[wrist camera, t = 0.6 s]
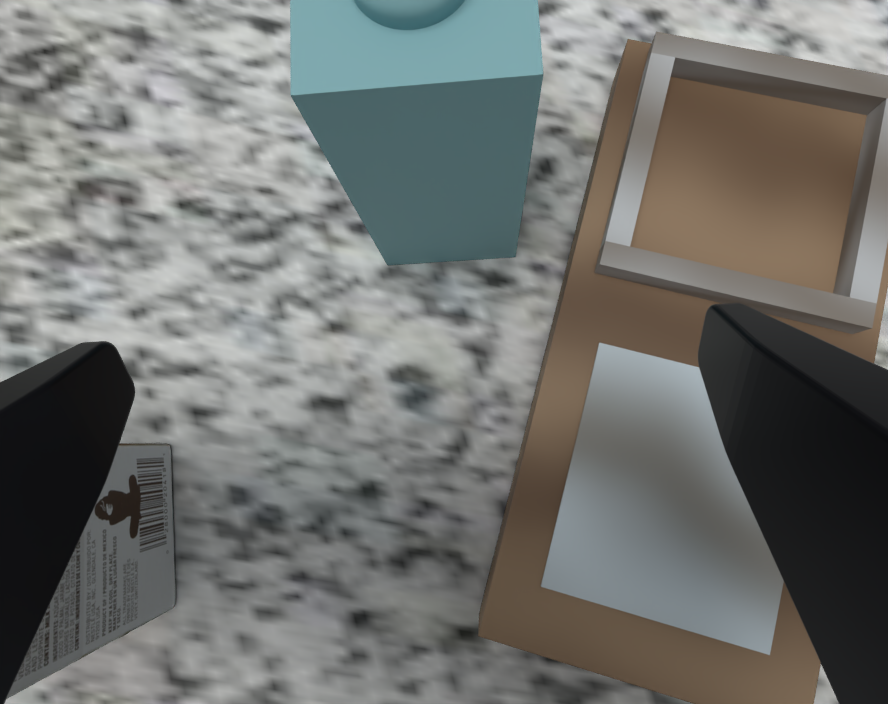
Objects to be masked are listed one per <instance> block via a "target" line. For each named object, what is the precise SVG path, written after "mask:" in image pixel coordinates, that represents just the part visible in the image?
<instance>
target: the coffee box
mask: <svg viewBox="0 0 888 704" xmlns="http://www.w3.org/2000/svg"><path fill="white" fill-rule="evenodd" d="M174 604H175V568H174V535H173V502H172V474H171V448H170V446H169V444H166V443H146V444H119V446H118V449H117V452H116V455H115V458H114V461H113V464H112V467H111V469H110V472H109V475H108V478H107V480H106V483H105V485H104V487H103V490H102V492H101V494H100V496H99V499H98V501H97V503H96V505H95V507H94V509H93V512H92V514H91V516H90V518H89V520H88V522H87V525H86V527H85V529H84V531H83V533H82V536H81V538H80V540H79V542H78V544H77V546H76V549H75V551H74V553H73V555H72V557H71V559H70V562H69V564H68V566H67V568H66V570H65V572H64V575H63V577H62V579H61V581H60V583H59V585H58V588H57V590H56V592H55V594H54V596H53V598H52V601H51V603H50V605H49V607H48V609H47V611H46V614H45V616H44V618H43V620H42V622H41V624H40V627H39V629H38V631H37V633H36V635H35V637H34V640H33V642H32V644H31V646H30V648H29V650H28V653H27V655H26V657H25V659H24V661H23V664H22V666H21V668H20V670H19V672H18V674H17V677H16V679H15V681H14V683H13V685H12V687H11V690H10V692H9V694H8V696H7V698H9V697H11V696H13V695H15V694H16V693H18V692H20V691H22V690H24V689H26V688H27V687H29V686H31V685H33V684H35V683H36V682H38V681H40V680H42V679H44V678H46V677H48V676H49V675H51V674H53V673H55V672H57V671H59V670H61V669H62V668H64V667H66V666H68V665H70V664H71V663H73V662H75V661H77V660H79V659H81V658H82V657H84V656H86V655H88V654H90V653H91V652H93V651H95V650H97V649H99V648H100V647H102V646H104V645H106V644H108V643H109V642H111V641H113V640H115V639H117V638H120V637H122V636H124V635H125V634H127V633H129V632H130V631H132V630H134V629H136V628H138V627H139V626H142V625H143V624H145V623H147V622H148V621H150V620H152V619H154V618H156V617H158V616H159V615H161V614H163V613H165V612H167V611H169V610H170V609H172V608H173V607H174ZM7 698H6V699H7Z"/></svg>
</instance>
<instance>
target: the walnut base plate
mask: <svg viewBox="0 0 888 704" xmlns="http://www.w3.org/2000/svg"><path fill="white" fill-rule="evenodd" d="M887 287H888V76H887V75H882V74H877V73H871V72H866V71H861V70H856V69H850V68H845V67H840V66H835V65H829V64H824V63H819V62H814V61H808V60H803V59H798V58H793V57H787V56H782V55H777V54H771V53H766V52H761V51H756V50H750V49H745V48H740V47H735V46H729V45H724V44H719V43H714V42H708V41H703V40H698V39H693V38H687V37H682V36H677V35H671V34H666V33H661V32H656V34H655V36H654V39H653V41H652V44H651V43H645V42H640V41H635V40H630V39H628V41H627V43H626V46H625V49H624V52H623V55H622V58H621V61H620V63H619V66H618V69H617V72H616V75H615V78H614V81H613V84H612V88H611V92H610V96H609V100H608V104H607V108H606V112H605V116H604V120H603V124H602V128H601V132H600V136H599V140H598V144H597V148H596V152H595V156H594V160H593V164H592V168H591V172H590V176H589V180H588V183H587V187H586V191H585V195H584V199H583V203H582V207H581V211H580V215H579V219H578V223H577V227H576V231H575V235H574V239H573V243H572V247H571V251H570V255H569V259H568V263H567V267H566V271H565V275H564V279H563V283H562V287H561V291H560V295H559V299H558V303H557V307H556V311H555V315H554V319H553V323H552V326H551V330H550V334H549V338H548V342H547V346H546V350H545V354H544V358H543V362H542V366H541V370H540V374H539V378H538V382H537V386H536V390H535V394H534V398H533V402H532V406H531V410H530V414H529V418H528V422H527V426H526V430H525V434H524V438H523V442H522V446H521V450H520V454H519V458H518V462H517V466H516V470H515V473H514V477H513V481H512V485H511V489H510V493H509V497H508V501H507V505H506V509H505V513H504V517H503V521H502V525H501V529H500V533H499V537H498V541H497V545H496V549H495V553H494V557H493V561H492V565H491V569H490V573H489V577H488V581H487V585H486V589H485V593H484V597H483V601H482V605H481V609H480V613H479V632H478V636H479V637H482V638H486V639H489V640H492V641H495V642H498V643H502V644H505V645H508V646H511V647H514V648H518V649H521V650H524V651H527V652H530V653H534V654H537V655H540V656H543V657H546V658H550V659H553V660H556V661H559V662H562V663H566V664H569V665H572V666H575V667H578V668H582V669H585V670H588V671H591V672H595V673H598V674H601V675H604V676H607V677H611V678H614V679H617V680H620V681H623V682H627V683H630V684H633V685H636V686H639V687H643V688H646V689H649V690H652V691H655V692H659V693H662V694H665V695H668V696H671V697H675V698H678V699H681V700H684V701H687V702H691V703H694V704H813V703H814V698H815V692H816V687H817V681H818V675H819V670H820V664H821V662H820V660H819V658H818V656H817V653H816V651H815V649H814V647H813V645H812V642H811V640H810V638H809V636H808V634H807V631H806V629H805V627H804V625H803V623H802V620H801V618H800V616H799V614H798V612H797V609H796V607H795V605H794V603H793V601H792V598H791V596H790V594H789V592H788V589H787V587H786V585H785V583H784V581H783V578H782V576H781V574H780V572H779V570H778V567H777V565H776V563H775V561H774V559H773V556H772V554H771V552H770V550H769V548H768V545H767V543H766V541H765V539H764V537H763V534H762V532H761V530H760V528H759V526H758V523H757V521H756V519H755V517H754V515H753V512H752V510H751V508H750V506H749V504H748V501H747V499H746V497H745V495H744V493H743V490H742V488H741V486H740V484H739V482H738V479H737V477H736V475H735V473H734V470H733V468H732V466H731V464H730V461H729V459H728V457H727V454H726V452H725V449H724V446H723V443H722V440H721V437H720V434H719V431H718V427H717V424H716V421H715V418H714V414H713V411H712V408H711V405H710V401H709V398H708V395H707V392H706V388H705V385H704V382H703V379H702V375H701V372H700V369H699V365H698V349H699V344H700V339H701V334H702V329H703V324H704V319H705V315H706V312H707V310H708V308H709V307H710V306H711V305H713V304H721V303H742V304H744V305H746V306H749V307H751V308H753V309H755V310H757V311H760V312H762V313H764V314H766V315H768V316H771V317H773V318H775V319H777V320H779V321H782V322H784V323H786V324H788V325H790V326H793V327H795V328H797V329H799V330H801V331H804V332H806V333H808V334H810V335H812V336H815V337H817V338H819V339H821V340H823V341H825V342H828V343H830V344H832V345H834V346H836V347H839V348H841V349H843V350H845V351H847V352H850V353H852V354H854V355H856V356H858V357H861V358H863V359H865V360H867V361H869V362H872V363H874V360H875V355H876V349H877V344H878V338H879V332H880V327H881V321H882V315H883V310H884V304H885V299H886V293H887Z"/></svg>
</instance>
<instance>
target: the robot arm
mask: <svg viewBox="0 0 888 704" xmlns="http://www.w3.org/2000/svg"><path fill="white" fill-rule="evenodd" d="M698 365H699V369H700V372H701V375H702V379H703V382H704V385H705V388H706V392H707V395H708V398H709V401H710V405H711V408H712V411H713V414H714V418H715V421H716V424H717V427H718V431H719V434H720V437H721V440H722V443H723V446H724V449H725V452H726V454H727V457H728V459H729V461H730V464H731V466H732V468H733V470H734V473H735V475H736V477H737V479H738V482H739V484H740V486H741V488H742V490H743V493H744V495H745V497H746V499H747V501H748V504H749V506H750V508H751V510H752V512H753V515H754V517H755V519H756V521H757V523H758V526H759V528H760V530H761V532H762V534H763V537H764V539H765V541H766V543H767V545H768V548H769V550H770V552H771V554H772V556H773V559H774V561H775V563H776V565H777V567H778V570H779V572H780V574H781V576H782V578H783V581H784V583H785V585H786V587H787V589H788V592H789V594H790V596H791V598H792V601H793V603H794V605H795V607H796V609H797V612H798V614H799V616H800V618H801V620H802V623H803V625H804V627H805V629H806V631H807V634H808V636H809V638H810V640H811V642H812V645H813V647H814V649H815V651H816V653H817V656H818V658H819V660H820V662H821V664H822V667H823V669H824V671H825V673H826V675H827V678H828V680H829V682H830V684H831V686H832V689H833V691H834V693H835V695H836V697H837V700H838V702H839V704H888V370H887V369H885V368H883V367H880V366H878V365H876V364H874V363H872V362H869V361H867V360H865V359H863V358H861V357H858V356H856V355H854V354H852V353H850V352H847V351H845V350H843V349H841V348H839V347H836V346H834V345H832V344H830V343H828V342H825V341H823V340H821V339H819V338H817V337H815V336H812V335H810V334H808V333H806V332H804V331H801V330H799V329H797V328H795V327H793V326H790V325H788V324H786V323H784V322H782V321H779V320H777V319H775V318H773V317H771V316H768V315H766V314H764V313H762V312H760V311H757V310H755V309H753V308H751V307H749V306H746V305H744V304H742V303H721V304H713V305H711V306H710V307H709V308H708V310H707V312H706V315H705V319H704V324H703V329H702V334H701V339H700V344H699V349H698ZM134 397H135V387H134V383H133V380H132V378H131V376H130V374H129V372H128V370H127V368H126V366H125V364H124V362H123V360H122V358H121V356H120V354H119V352H118V350H117V349H116V347H115V346H114V345H113V344H111V343H109V342H106V341H101V342H85V343H81V344H78V345H76V346H74V347H72V348H70V349H68V350H66V351H64V352H62V353H60V354H58V355H56V356H54V357H52V358H49V359H47V360H45V361H43V362H41V363H39V364H37V365H35V366H33V367H31V368H29V369H27V370H25V371H23V372H21V373H19V374H17V375H15V376H13V377H11V378H9V379H6V380H4V381H2V382H0V704H4V703H5V700H6V698H7V696H8V694H9V692H10V690H11V687H12V685H13V683H14V681H15V679H16V677H17V674H18V672H19V670H20V668H21V666H22V664H23V661H24V659H25V657H26V655H27V653H28V650H29V648H30V646H31V644H32V642H33V640H34V637H35V635H36V633H37V631H38V629H39V627H40V624H41V622H42V620H43V618H44V616H45V614H46V611H47V609H48V607H49V605H50V603H51V601H52V598H53V596H54V594H55V592H56V590H57V588H58V585H59V583H60V581H61V579H62V577H63V575H64V572H65V570H66V568H67V566H68V564H69V562H70V559H71V557H72V555H73V553H74V551H75V549H76V546H77V544H78V542H79V540H80V538H81V536H82V533H83V531H84V529H85V527H86V525H87V522H88V520H89V518H90V516H91V514H92V512H93V509H94V507H95V505H96V503H97V501H98V499H99V496H100V494H101V492H102V490H103V487H104V485H105V483H106V480H107V478H108V475H109V472H110V469H111V467H112V464H113V461H114V458H115V455H116V452H117V449H118V446H119V443H120V440H121V437H122V434H123V431H124V428H125V425H126V422H127V419H128V416H129V413H130V410H131V407H132V404H133V401H134Z"/></svg>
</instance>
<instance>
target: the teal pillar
mask: <svg viewBox="0 0 888 704" xmlns="http://www.w3.org/2000/svg"><path fill="white" fill-rule="evenodd" d="M290 28H291V97H292V99H293V100H294V102H295V104H296V106H297V107H298V109H299V111H300V113H301V114H302V116H303V118H304V120H305V121H306V123H307V125H308V127H309V128H310V130H311V132H312V134H313V135H314V137H315V139H316V141H317V142H318V144H319V146H320V148H321V149H322V151H323V153H324V155H325V156H326V158H327V160H328V162H329V163H330V165H331V167H332V169H333V171H334V172H335V174H336V176H337V178H338V179H339V181H340V183H341V185H342V186H343V188H344V190H345V192H346V193H347V195H348V197H349V199H350V200H351V202H352V204H353V206H354V207H355V209H356V211H357V213H358V214H359V216H360V218H361V220H362V221H363V223H364V225H365V227H366V228H367V230H368V232H369V234H370V235H371V237H372V239H373V241H374V242H375V244H376V246H377V248H378V249H379V251H380V253H381V255H382V257H383V258H384V260H385V262H386V264H387V265H400V264H415V263H431V262H447V261H463V260H478V259H494V258H510V257H515V256H516V250H517V243H518V237H519V230H520V223H521V217H522V210H523V204H524V197H525V191H526V184H527V177H528V171H529V164H530V158H531V151H532V145H533V138H534V131H535V125H536V118H537V112H538V105H539V99H540V92H541V85H542V79H543V65H542V52H541V38H540V25H539V12H538V0H290Z"/></svg>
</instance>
